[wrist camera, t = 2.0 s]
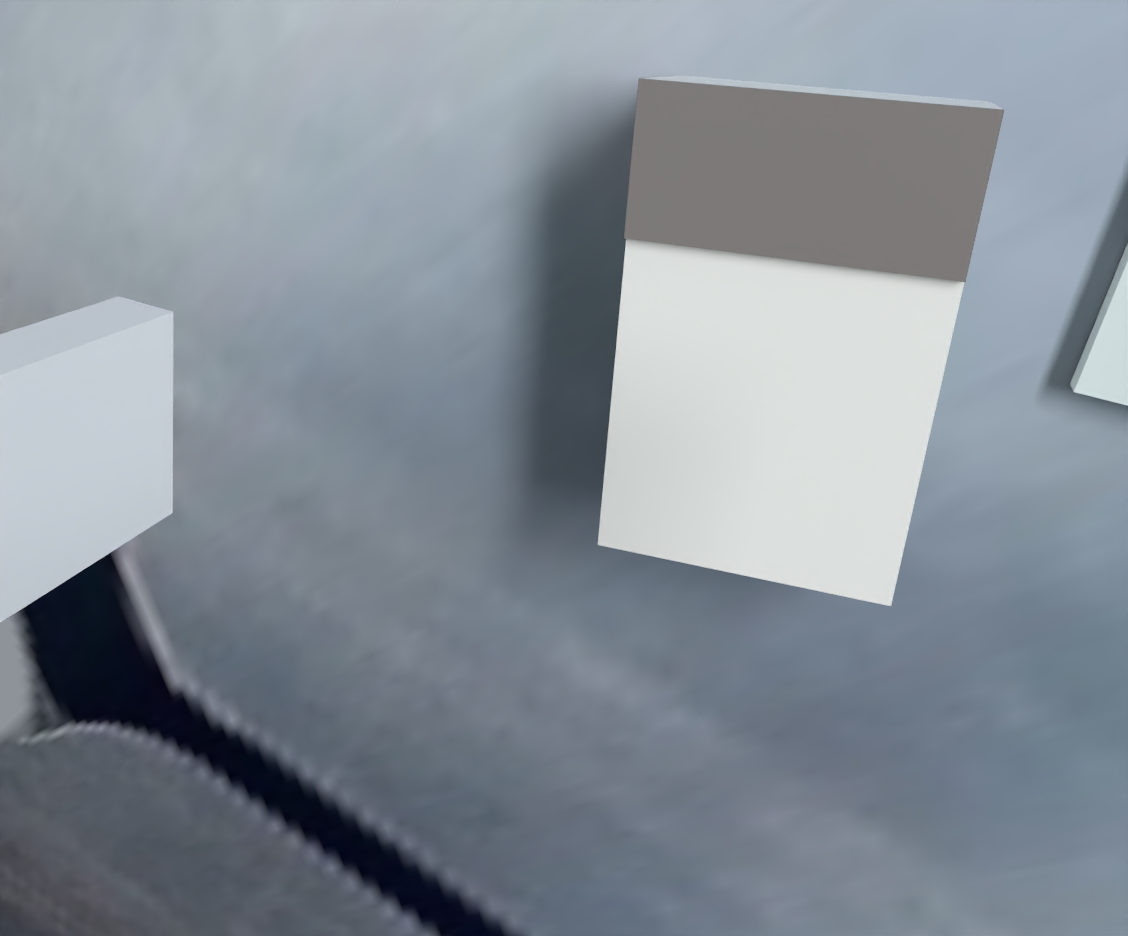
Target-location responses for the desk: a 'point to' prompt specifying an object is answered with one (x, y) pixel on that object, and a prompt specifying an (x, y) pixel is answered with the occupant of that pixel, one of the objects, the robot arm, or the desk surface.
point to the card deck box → (787, 323)
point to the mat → (1107, 345)
